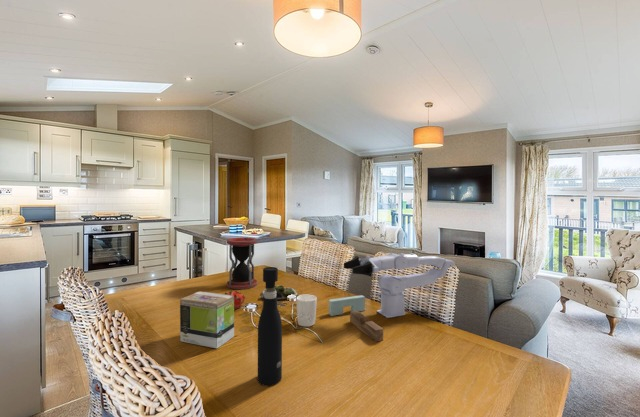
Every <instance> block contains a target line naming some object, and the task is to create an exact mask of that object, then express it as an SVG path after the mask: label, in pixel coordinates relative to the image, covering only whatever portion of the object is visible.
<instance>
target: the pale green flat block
mask: <svg viewBox="0 0 640 417" xmlns="http://www.w3.org/2000/svg"><path fill="white" fill-rule="evenodd" d="M365 304H366V296H364V295H362V294H361V295H354V296H346V297H345V296H344V297H338V298H331V299H329V300H328V315H330V316H331V317H332V316H338V315H339V316H340V315H344V308H345V307H350V311H358V312H363V311H365V308H366V305H365Z"/></svg>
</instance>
